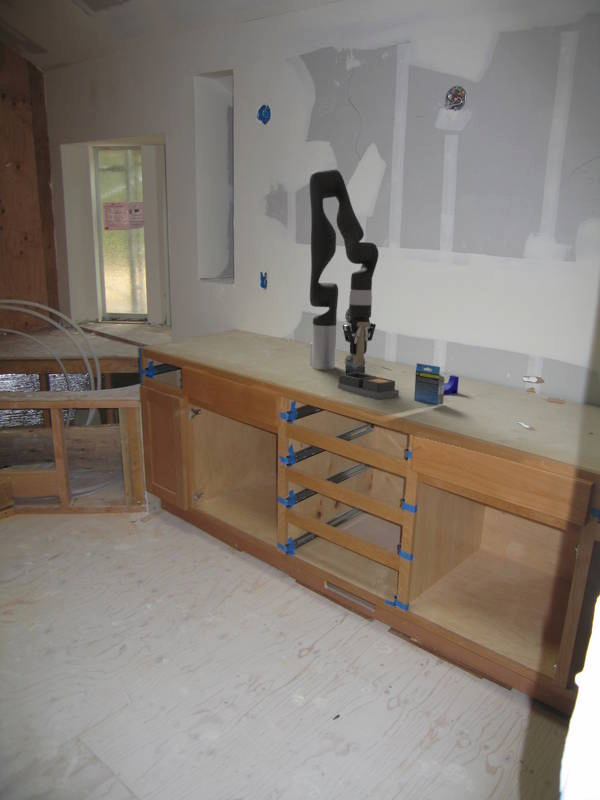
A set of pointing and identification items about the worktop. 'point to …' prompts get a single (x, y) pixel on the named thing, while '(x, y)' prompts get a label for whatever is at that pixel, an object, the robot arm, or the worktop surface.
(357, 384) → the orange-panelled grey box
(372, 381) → the button
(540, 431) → the worktop surface
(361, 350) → the handle
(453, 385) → the blue curved piece
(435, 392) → the label tape box
